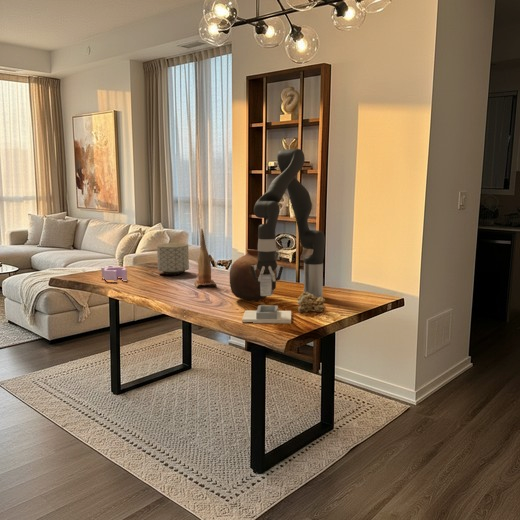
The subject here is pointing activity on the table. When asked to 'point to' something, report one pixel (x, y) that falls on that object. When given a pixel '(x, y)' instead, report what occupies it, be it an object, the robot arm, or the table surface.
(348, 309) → the table surface
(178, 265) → the planter
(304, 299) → the mineral formation
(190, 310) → the table surface
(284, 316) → the holder
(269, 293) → the medicine box
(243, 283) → the pottery
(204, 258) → the brown spire tower
